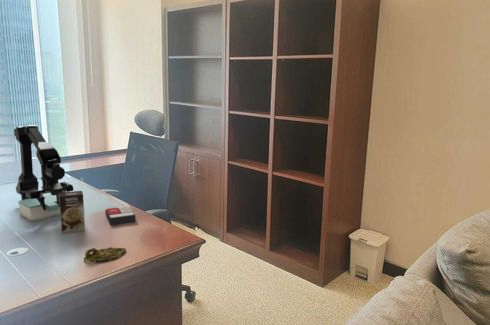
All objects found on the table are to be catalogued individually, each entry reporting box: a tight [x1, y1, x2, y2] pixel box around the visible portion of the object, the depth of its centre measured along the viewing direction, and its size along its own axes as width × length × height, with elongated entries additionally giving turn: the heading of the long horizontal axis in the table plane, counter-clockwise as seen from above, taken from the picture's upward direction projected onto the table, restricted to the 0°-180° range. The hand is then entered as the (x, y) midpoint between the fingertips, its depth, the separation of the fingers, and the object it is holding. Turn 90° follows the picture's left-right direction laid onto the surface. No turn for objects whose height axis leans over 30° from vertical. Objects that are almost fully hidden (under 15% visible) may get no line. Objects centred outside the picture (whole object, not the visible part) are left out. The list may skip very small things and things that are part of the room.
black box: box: [104, 205, 137, 227], centre depth 173 cm, size 11×4×15 cm
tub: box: [18, 203, 60, 222], centre depth 176 cm, size 12×16×6 cm
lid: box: [18, 193, 59, 212], centre depth 174 cm, size 17×16×2 cm
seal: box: [83, 246, 127, 264], centre depth 136 cm, size 9×5×15 cm
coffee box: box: [59, 190, 86, 234], centre depth 158 cm, size 9×6×16 cm
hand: (51, 208), depth 170 cm, fingers open, 6 cm apart
